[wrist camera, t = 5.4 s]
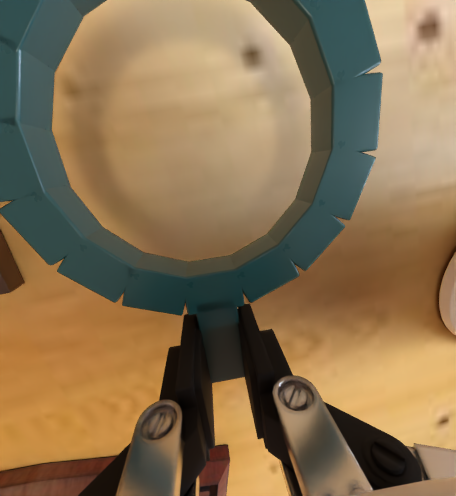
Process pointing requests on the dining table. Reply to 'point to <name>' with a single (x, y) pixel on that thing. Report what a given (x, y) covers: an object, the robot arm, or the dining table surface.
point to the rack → (8, 270)
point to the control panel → (85, 471)
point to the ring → (168, 269)
